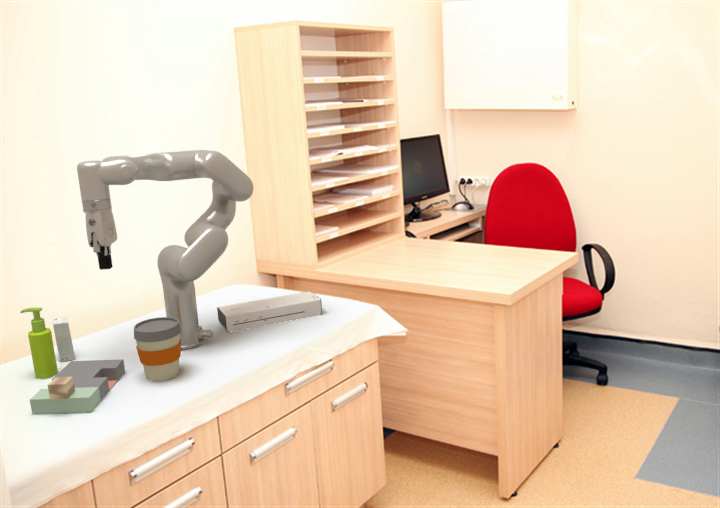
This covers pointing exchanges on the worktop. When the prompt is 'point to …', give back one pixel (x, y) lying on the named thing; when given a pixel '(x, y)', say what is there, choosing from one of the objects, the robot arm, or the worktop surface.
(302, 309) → the laminator
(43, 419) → the worktop surface
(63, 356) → the skincare box
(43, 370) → the soap dispenser
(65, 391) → the maple block
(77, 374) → the board
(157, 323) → the reusable coffee cup
